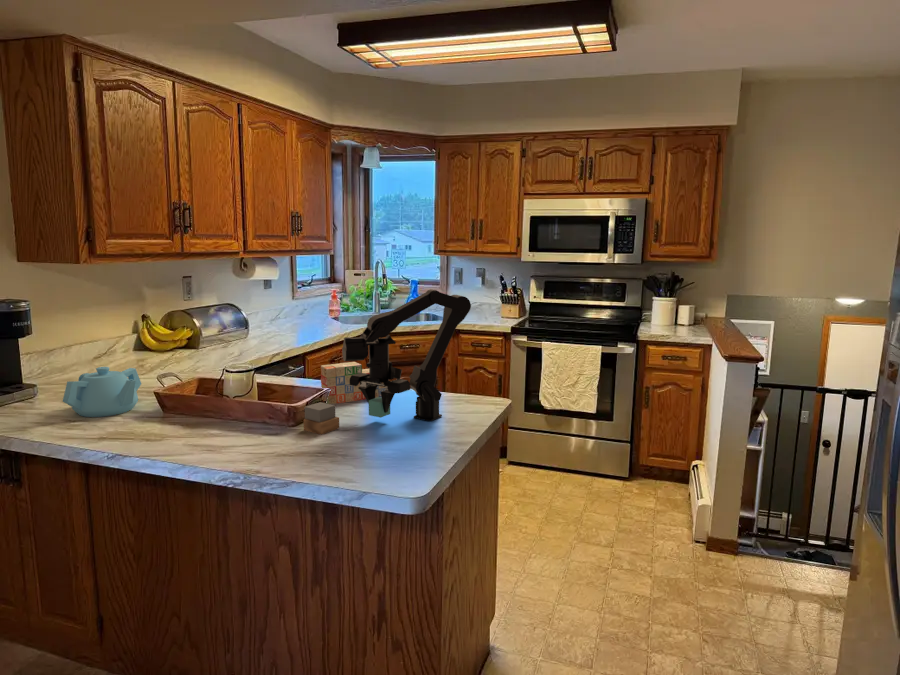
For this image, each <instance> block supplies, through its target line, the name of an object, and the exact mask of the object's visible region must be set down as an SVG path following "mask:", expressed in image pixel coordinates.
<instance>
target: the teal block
mask: <svg viewBox="0 0 900 675" xmlns="http://www.w3.org/2000/svg"><path fill="white" fill-rule="evenodd" d="M388 415H391V406H390V407H389V409H388V412H386V413H385V412H384V409H383V403H382V397H377V398H374V399H371V400H369V404H368V416H371V417H376V418H384V417H386V416H388Z"/></svg>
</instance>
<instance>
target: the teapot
mask: <svg viewBox="0 0 900 675" xmlns="http://www.w3.org/2000/svg"><path fill="white" fill-rule="evenodd" d="M95 370H96V371H95V372H91V373H89V372H86V373H82V374H80V375H79V377H78V381H77V380H75V381H67V382H66V385H65V389H64V394H63V398H62V402H63V403H64V404H67V405H68V406H70V407H71V409H72V411H74V412H75V413H76V414H77V415H79V416H81V417H85V418H103V417H104V418H105V417H111V416H116V414H117V415H120V414H124V412H125V413H127V411H128V412H129V410H130V411H131V410H133V409H134V408H135V407H136V405H137V403H138V401H139V395H138V392H137V391H138V389H139V388H140V387H141V386H142V381H141V379H140V377H139V374H138V371H137V368H134V367H129V368H127V369H125V370H122V371H118V370H110V367H109V366H99V367H97V368H95ZM132 408H133V409H132Z"/></svg>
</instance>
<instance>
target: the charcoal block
mask: <svg viewBox="0 0 900 675" xmlns="http://www.w3.org/2000/svg"><path fill="white" fill-rule="evenodd" d="M335 417H336V405H335V404H327V403H325V402H323V401H322V402H317V403H313V404H310V405H305V406H304V419H308V420H312V421H316V422H323V421H326V420H329V419H332V418H335Z"/></svg>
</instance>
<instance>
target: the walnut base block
mask: <svg viewBox="0 0 900 675" xmlns="http://www.w3.org/2000/svg"><path fill="white" fill-rule="evenodd" d="M338 429H340V417H338V416H335V418H332V419H329V420H326V421H323V422H316V421H312V420H308V419H305V418H304V419H303V431H305V430H306V431H305V432H309V431H310V432H309V433H314V434H318V435H325V434H327V433H331V432H333V431H335V430H338Z"/></svg>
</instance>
